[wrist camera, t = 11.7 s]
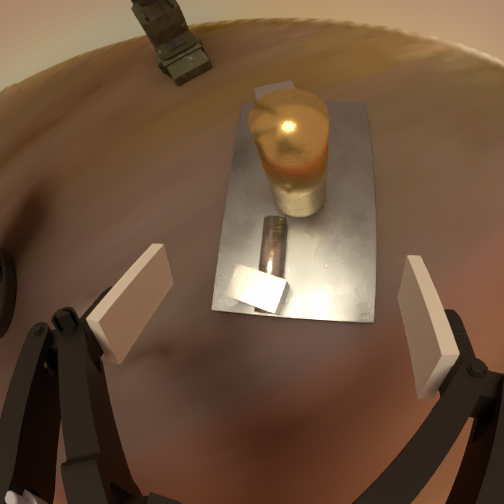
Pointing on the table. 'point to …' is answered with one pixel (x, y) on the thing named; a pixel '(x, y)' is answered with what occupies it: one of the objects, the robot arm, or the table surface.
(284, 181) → the orange glossy cylinder
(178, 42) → the mechanical leg
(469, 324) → the table surface
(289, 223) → the bed plate
